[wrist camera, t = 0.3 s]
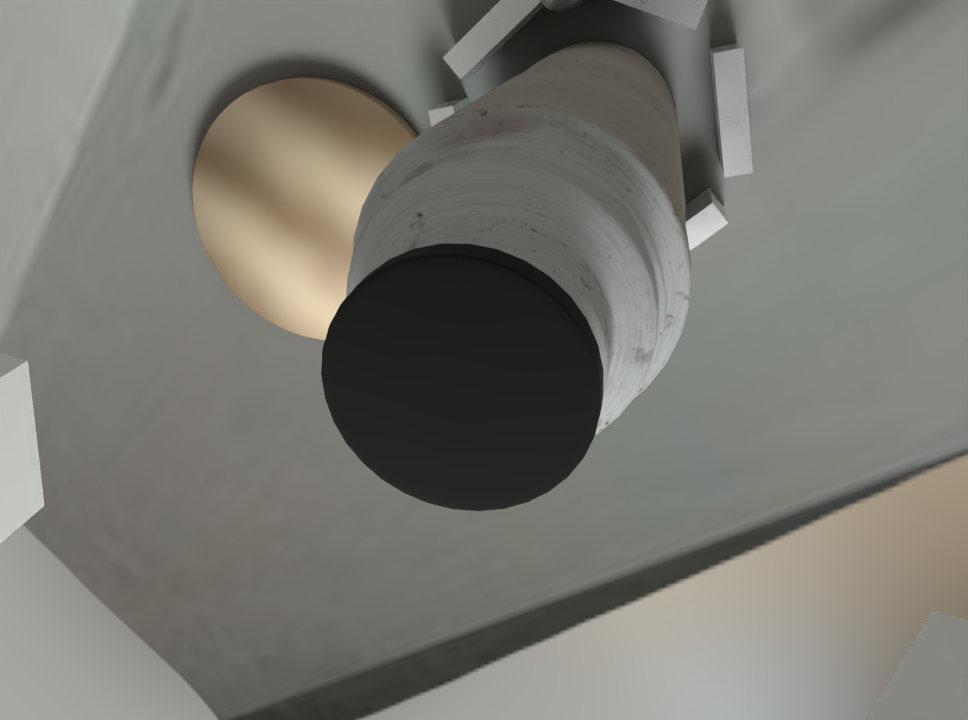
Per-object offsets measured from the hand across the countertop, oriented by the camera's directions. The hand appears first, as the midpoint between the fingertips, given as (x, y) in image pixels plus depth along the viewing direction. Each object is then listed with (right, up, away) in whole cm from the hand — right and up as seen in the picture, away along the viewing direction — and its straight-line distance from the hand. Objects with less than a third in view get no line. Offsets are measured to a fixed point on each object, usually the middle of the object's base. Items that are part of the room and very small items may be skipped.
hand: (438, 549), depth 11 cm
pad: (-8, +11, +31) cm, 34 cm away
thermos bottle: (+6, +14, +27) cm, 31 cm away
